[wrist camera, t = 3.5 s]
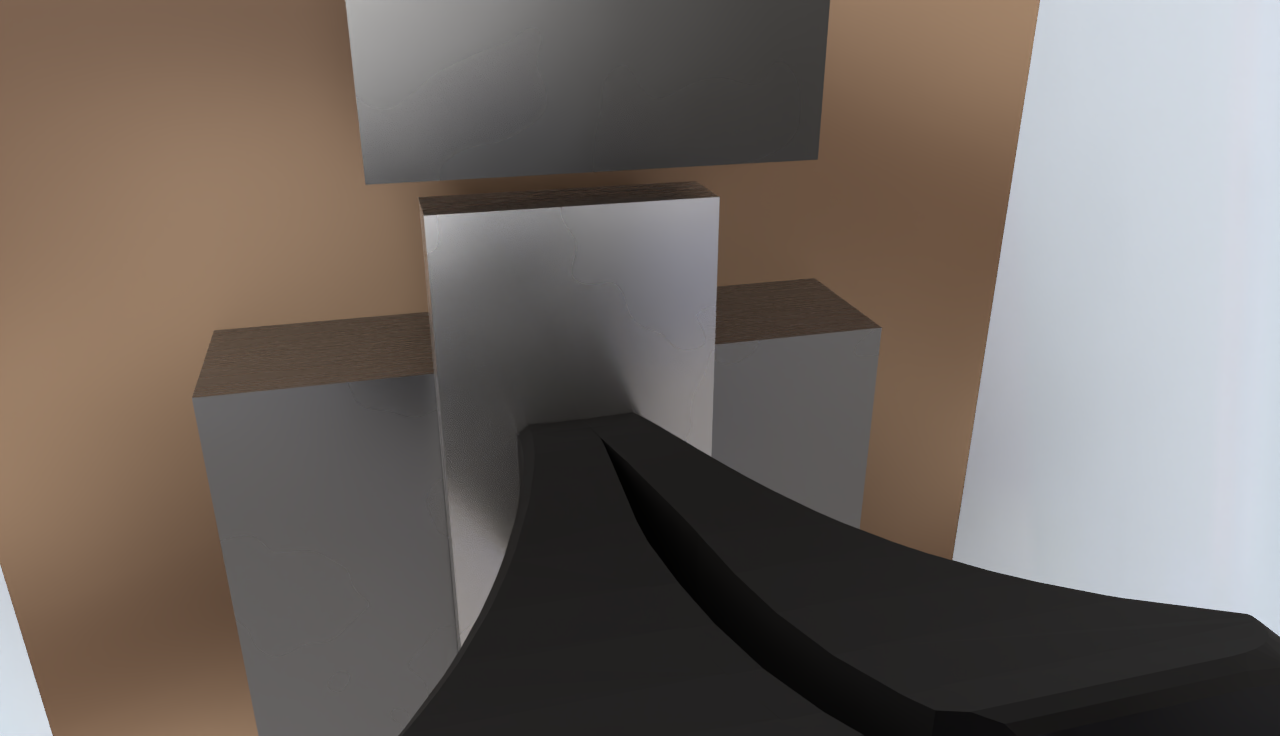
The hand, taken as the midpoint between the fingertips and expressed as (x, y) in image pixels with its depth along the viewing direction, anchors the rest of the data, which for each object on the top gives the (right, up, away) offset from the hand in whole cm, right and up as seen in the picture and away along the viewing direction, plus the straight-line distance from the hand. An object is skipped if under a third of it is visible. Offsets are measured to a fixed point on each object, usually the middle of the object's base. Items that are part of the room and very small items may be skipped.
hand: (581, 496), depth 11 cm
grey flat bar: (0, -3, +2) cm, 3 cm away
